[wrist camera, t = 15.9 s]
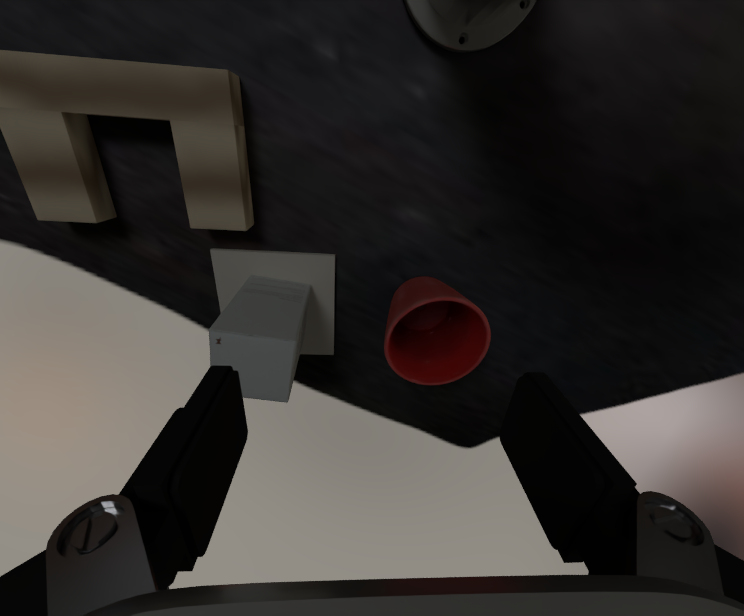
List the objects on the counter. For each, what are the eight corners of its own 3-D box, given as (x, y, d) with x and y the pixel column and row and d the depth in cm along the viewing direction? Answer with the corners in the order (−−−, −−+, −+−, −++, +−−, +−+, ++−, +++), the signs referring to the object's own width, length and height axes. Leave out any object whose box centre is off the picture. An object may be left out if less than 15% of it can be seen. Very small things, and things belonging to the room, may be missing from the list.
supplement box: (248, 325, 41) (207, 395, 29) (250, 272, 37) (206, 327, 26) (306, 335, 42) (288, 405, 30) (313, 283, 38) (296, 341, 27)
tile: (212, 248, 36) (210, 249, 36) (335, 254, 37) (334, 255, 37) (229, 349, 43) (227, 352, 42) (333, 352, 44) (333, 354, 43)
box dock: (4, 56, 28) (-33, 47, 25) (239, 76, 29) (227, 69, 27) (62, 214, 34) (37, 219, 31) (254, 224, 35) (246, 230, 33)
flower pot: (370, 274, 39) (374, 311, 30) (459, 255, 38) (490, 288, 30) (385, 344, 44) (393, 394, 35) (465, 329, 43) (492, 375, 35)
